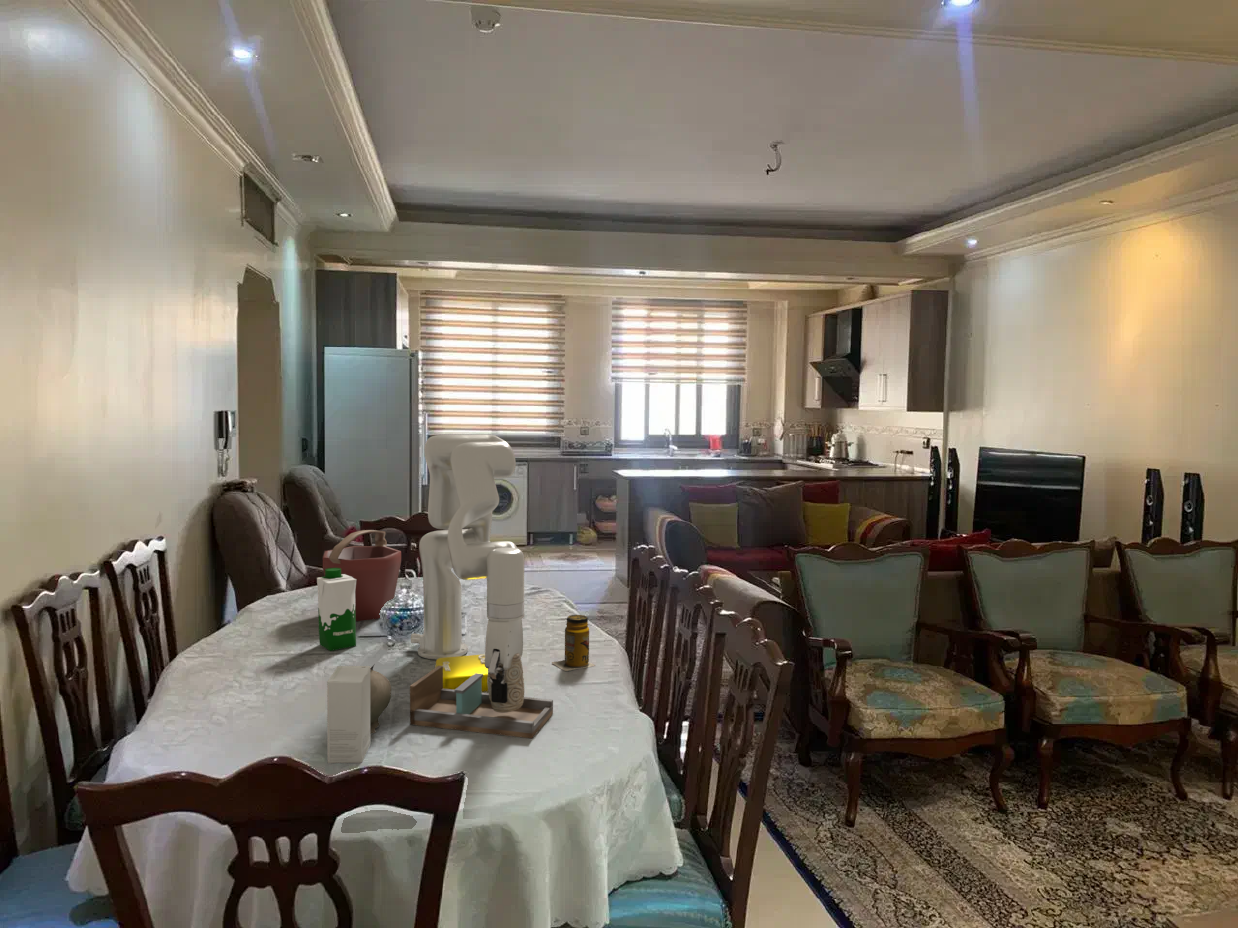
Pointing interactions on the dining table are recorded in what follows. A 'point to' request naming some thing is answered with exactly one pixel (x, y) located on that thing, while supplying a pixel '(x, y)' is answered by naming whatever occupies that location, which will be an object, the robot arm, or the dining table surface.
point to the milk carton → (336, 610)
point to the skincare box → (348, 714)
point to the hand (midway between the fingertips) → (505, 695)
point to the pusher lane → (440, 710)
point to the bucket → (367, 571)
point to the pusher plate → (469, 694)
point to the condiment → (576, 644)
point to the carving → (510, 687)
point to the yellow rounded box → (462, 670)
